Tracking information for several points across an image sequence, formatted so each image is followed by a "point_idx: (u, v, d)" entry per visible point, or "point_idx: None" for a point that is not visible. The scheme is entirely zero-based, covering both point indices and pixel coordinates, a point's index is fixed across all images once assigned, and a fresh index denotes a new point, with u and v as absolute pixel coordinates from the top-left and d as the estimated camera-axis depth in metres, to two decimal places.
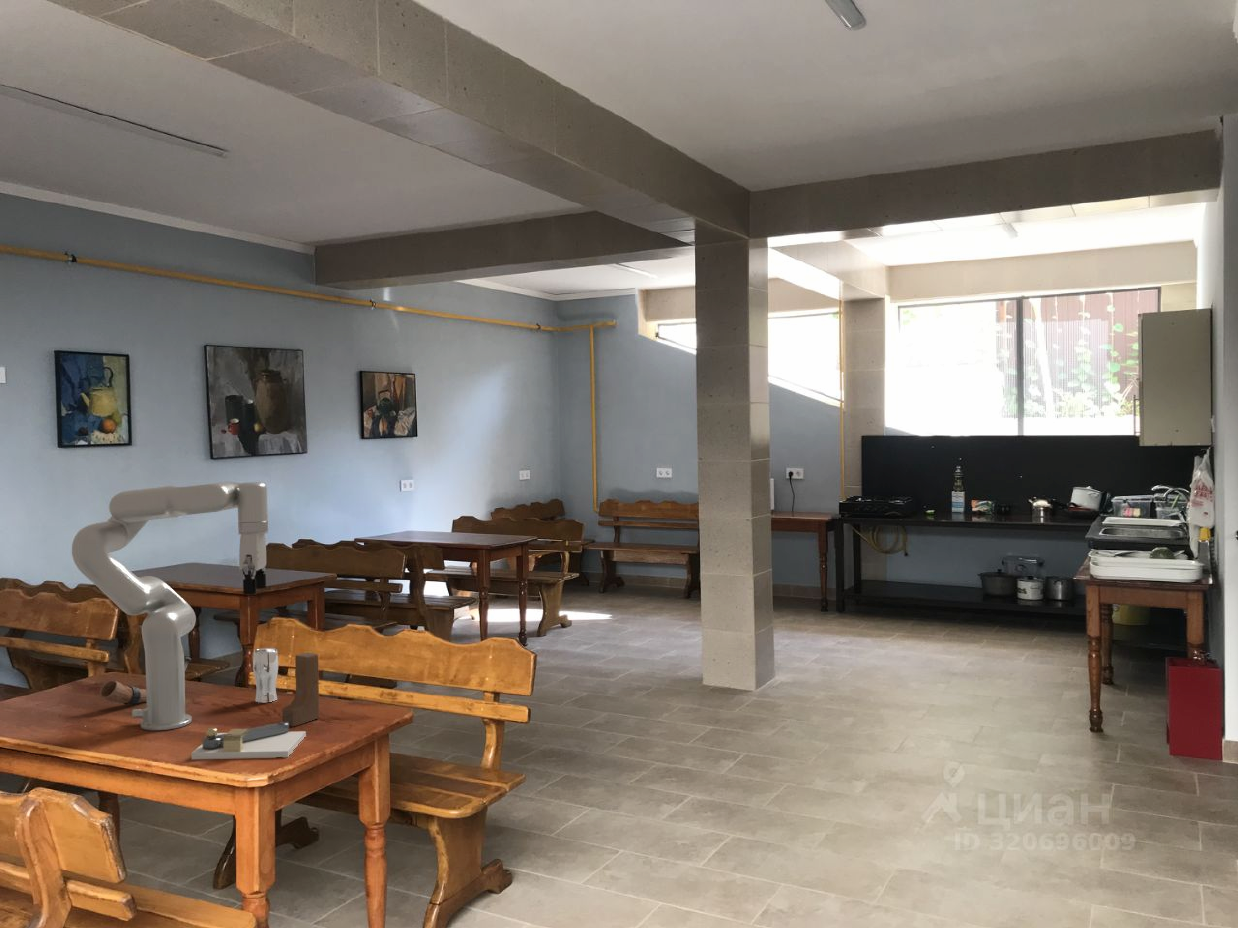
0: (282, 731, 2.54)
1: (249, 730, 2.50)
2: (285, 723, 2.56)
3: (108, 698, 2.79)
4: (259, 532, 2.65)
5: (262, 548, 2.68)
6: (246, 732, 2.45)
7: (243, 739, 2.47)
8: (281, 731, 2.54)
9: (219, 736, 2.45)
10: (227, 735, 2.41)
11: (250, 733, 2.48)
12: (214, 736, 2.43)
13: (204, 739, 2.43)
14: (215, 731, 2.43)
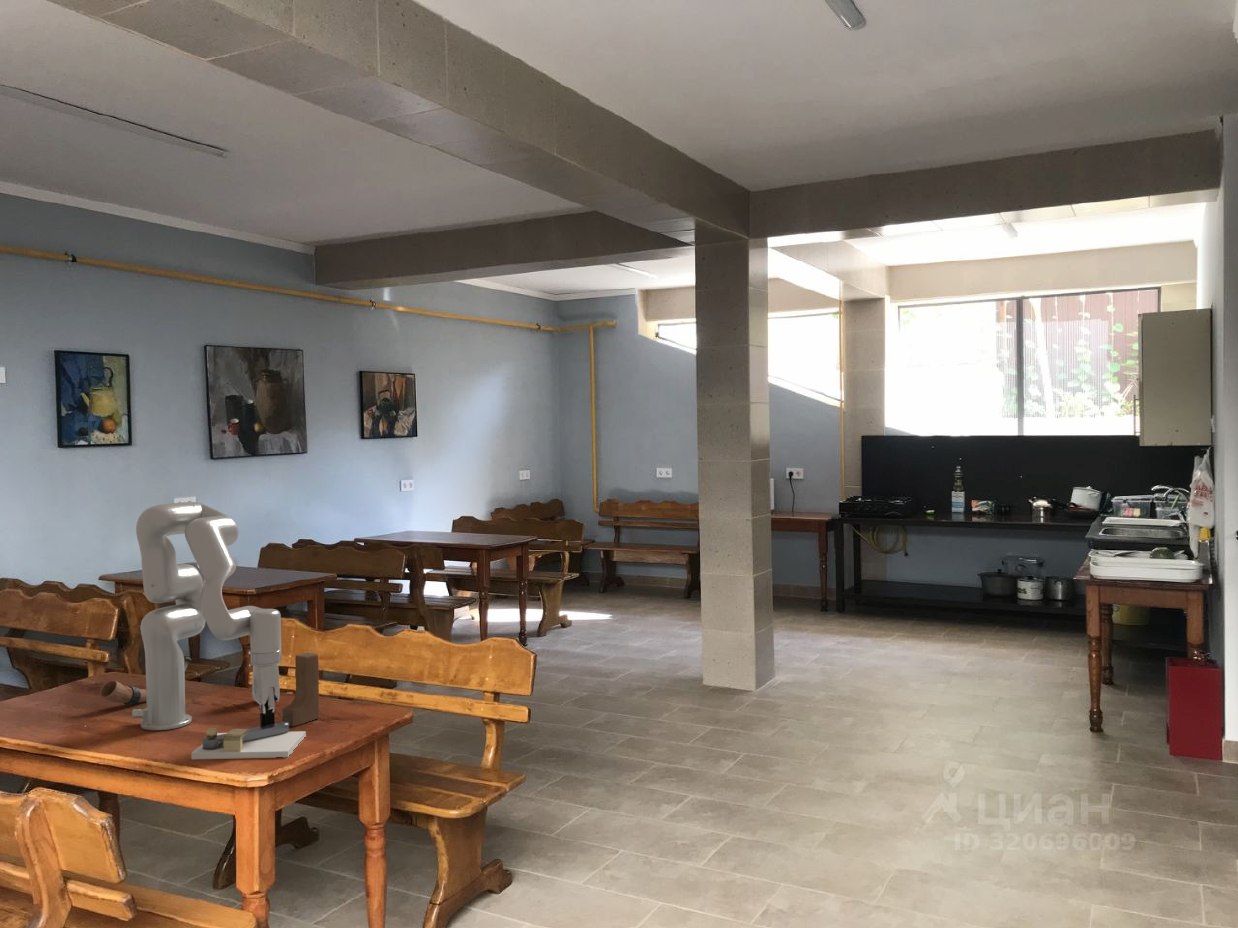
0: (282, 731, 2.54)
1: (249, 730, 2.50)
2: (285, 723, 2.56)
3: (108, 698, 2.79)
4: (278, 662, 2.55)
5: None
6: (246, 732, 2.45)
7: (243, 739, 2.47)
8: (281, 731, 2.54)
9: (219, 736, 2.45)
10: (227, 735, 2.41)
11: (250, 733, 2.48)
12: (214, 736, 2.43)
13: (204, 739, 2.43)
14: (215, 731, 2.43)
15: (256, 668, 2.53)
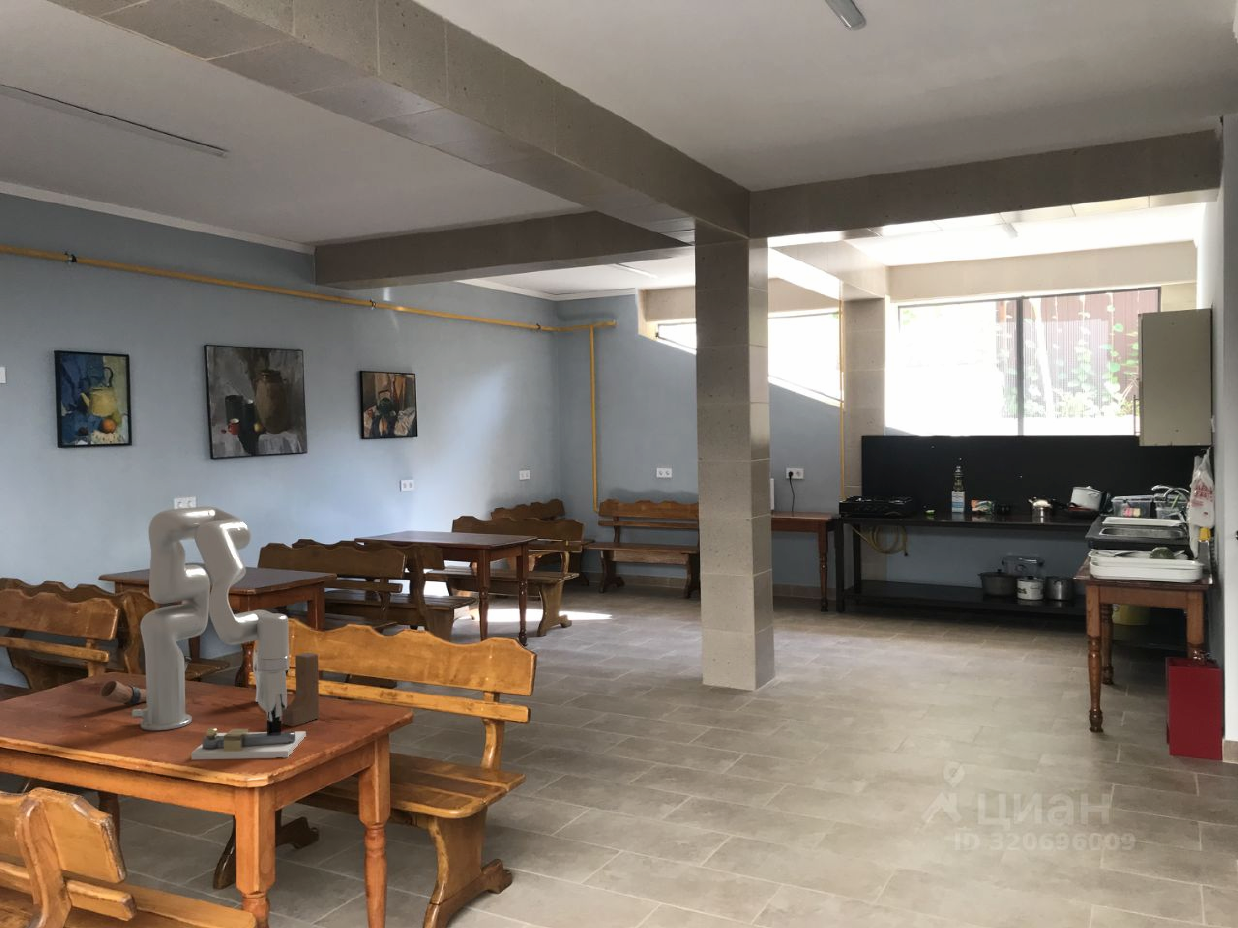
0: (285, 741, 2.46)
1: (252, 735, 2.46)
2: (290, 733, 2.47)
3: (108, 698, 2.79)
4: (286, 668, 2.48)
5: None
6: (246, 732, 2.45)
7: (242, 744, 2.44)
8: (283, 741, 2.46)
9: (220, 737, 2.44)
10: (227, 735, 2.41)
11: (249, 738, 2.44)
12: (214, 736, 2.43)
13: (204, 738, 2.43)
14: (215, 731, 2.43)
15: (263, 674, 2.47)
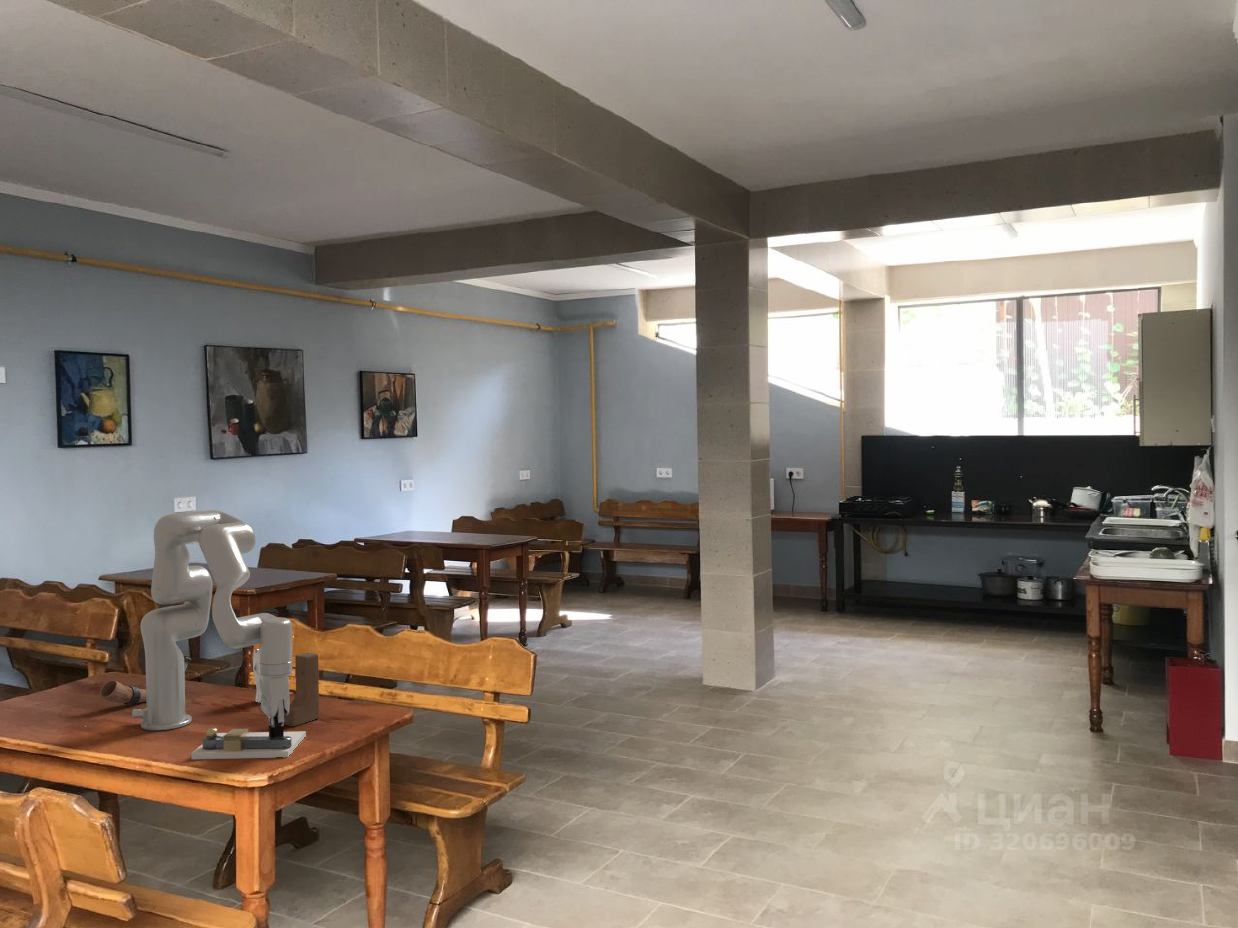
0: (279, 746, 2.42)
1: (249, 738, 2.43)
2: (286, 738, 2.43)
3: (108, 698, 2.79)
4: (289, 673, 2.45)
5: None
6: (246, 732, 2.45)
7: None
8: (278, 746, 2.42)
9: (220, 738, 2.44)
10: (227, 735, 2.41)
11: (246, 741, 2.42)
12: (214, 736, 2.43)
13: (205, 737, 2.44)
14: (215, 731, 2.43)
15: (266, 679, 2.44)
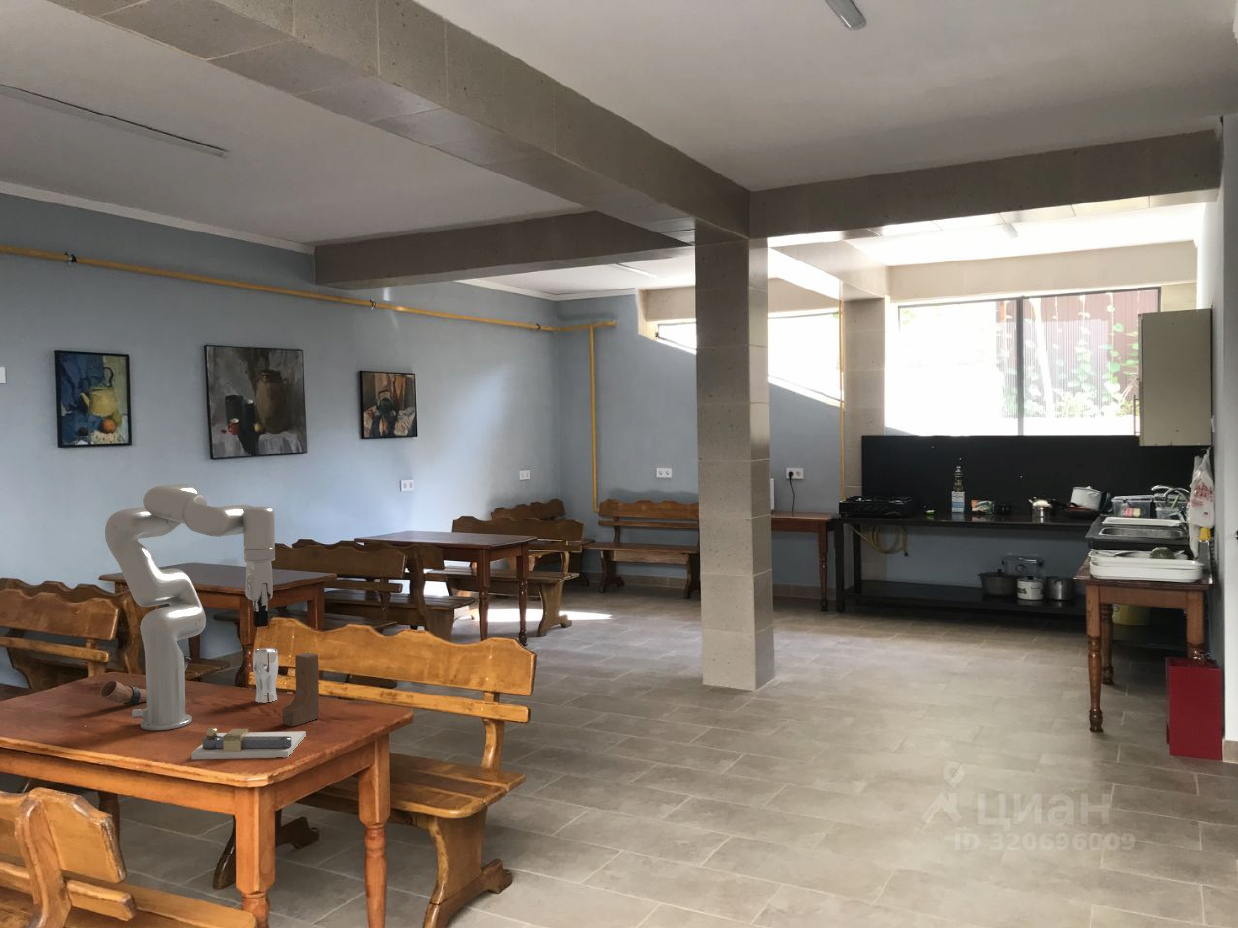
0: (279, 746, 2.42)
1: (249, 738, 2.43)
2: (286, 738, 2.43)
3: (108, 698, 2.79)
4: (271, 559, 2.53)
5: None
6: (246, 732, 2.45)
7: None
8: (278, 746, 2.42)
9: (220, 738, 2.44)
10: (227, 735, 2.41)
11: (245, 741, 2.42)
12: (214, 736, 2.43)
13: (205, 737, 2.44)
14: (215, 731, 2.43)
15: (249, 565, 2.52)
